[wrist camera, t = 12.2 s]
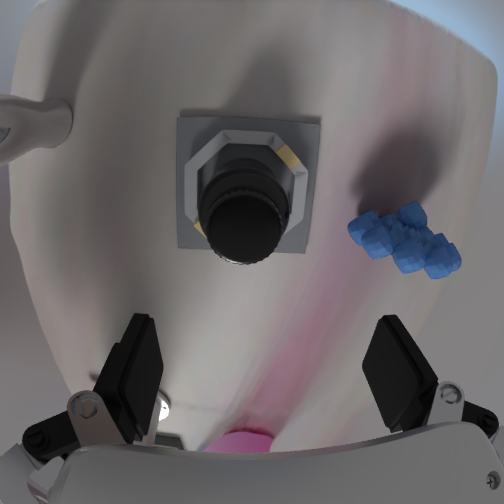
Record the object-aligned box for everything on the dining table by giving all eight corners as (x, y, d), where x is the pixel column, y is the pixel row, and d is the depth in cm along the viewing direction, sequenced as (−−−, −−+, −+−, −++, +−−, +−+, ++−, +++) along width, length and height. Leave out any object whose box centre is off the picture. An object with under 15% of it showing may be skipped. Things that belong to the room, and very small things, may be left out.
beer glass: (80, 94, 23) (-16, 92, 10) (71, 153, 26) (-23, 185, 12) (39, 95, 22) (-53, 101, 9) (31, 149, 25) (-57, 178, 12)
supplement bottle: (291, 196, 28) (320, 242, 18) (238, 234, 30) (235, 298, 19) (250, 142, 26) (255, 152, 15) (196, 183, 28) (165, 223, 17)
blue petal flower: (427, 195, 29) (492, 231, 18) (413, 245, 32) (468, 295, 21) (344, 178, 28) (399, 211, 18) (332, 236, 31) (374, 294, 20)
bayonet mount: (179, 245, 31) (172, 259, 28) (179, 117, 25) (170, 116, 22) (303, 250, 32) (310, 265, 29) (318, 124, 26) (328, 124, 23)
